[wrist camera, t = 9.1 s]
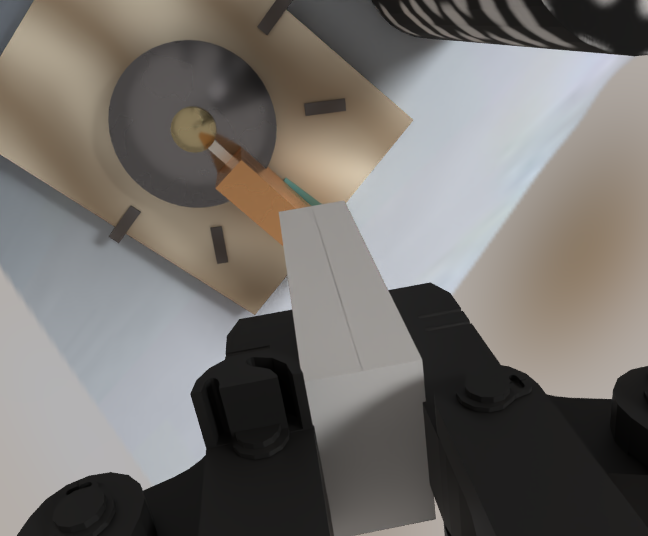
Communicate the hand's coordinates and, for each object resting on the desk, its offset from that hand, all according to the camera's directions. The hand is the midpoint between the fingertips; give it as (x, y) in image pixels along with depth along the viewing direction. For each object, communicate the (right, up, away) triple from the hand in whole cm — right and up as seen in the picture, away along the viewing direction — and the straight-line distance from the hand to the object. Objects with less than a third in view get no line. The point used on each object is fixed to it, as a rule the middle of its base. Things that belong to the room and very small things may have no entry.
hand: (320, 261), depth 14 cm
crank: (-5, +6, +21) cm, 22 cm away
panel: (-7, +9, +21) cm, 24 cm away
